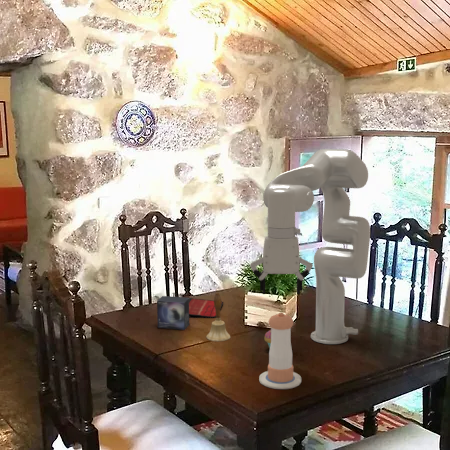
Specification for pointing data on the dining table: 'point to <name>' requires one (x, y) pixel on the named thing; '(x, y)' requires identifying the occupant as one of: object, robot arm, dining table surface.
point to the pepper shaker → (280, 348)
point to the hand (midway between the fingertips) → (281, 292)
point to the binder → (202, 308)
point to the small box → (173, 312)
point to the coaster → (280, 385)
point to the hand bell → (218, 323)
